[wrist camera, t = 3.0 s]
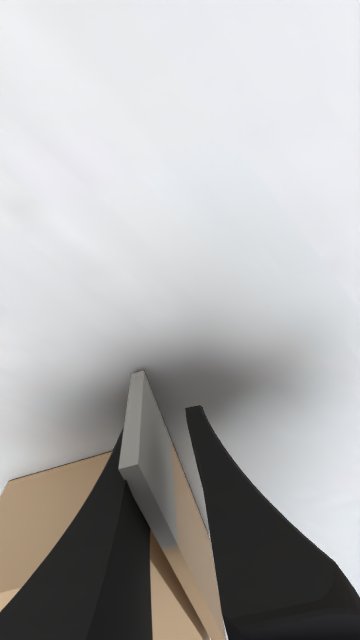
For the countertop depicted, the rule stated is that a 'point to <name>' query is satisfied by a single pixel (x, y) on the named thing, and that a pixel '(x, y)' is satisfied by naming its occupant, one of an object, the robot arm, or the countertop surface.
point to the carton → (50, 524)
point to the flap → (168, 502)
